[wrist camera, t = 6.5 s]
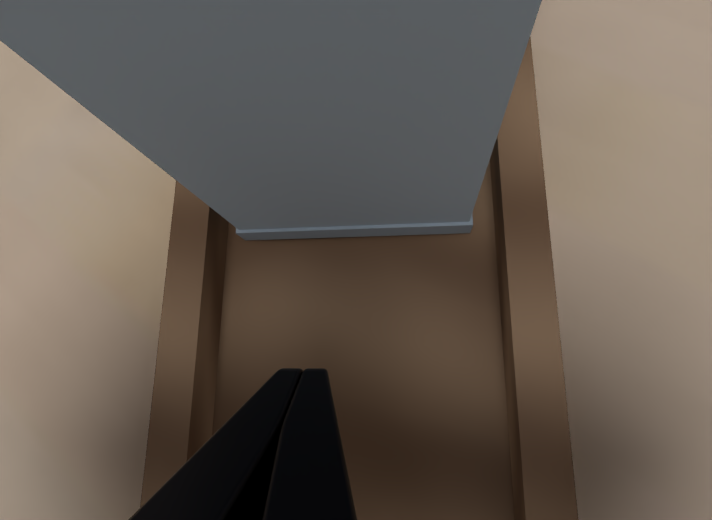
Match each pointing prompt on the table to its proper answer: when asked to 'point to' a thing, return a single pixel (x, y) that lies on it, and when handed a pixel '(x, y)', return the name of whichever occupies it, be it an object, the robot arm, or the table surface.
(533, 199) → the bay
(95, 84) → the grey ledged block
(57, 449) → the table surface
